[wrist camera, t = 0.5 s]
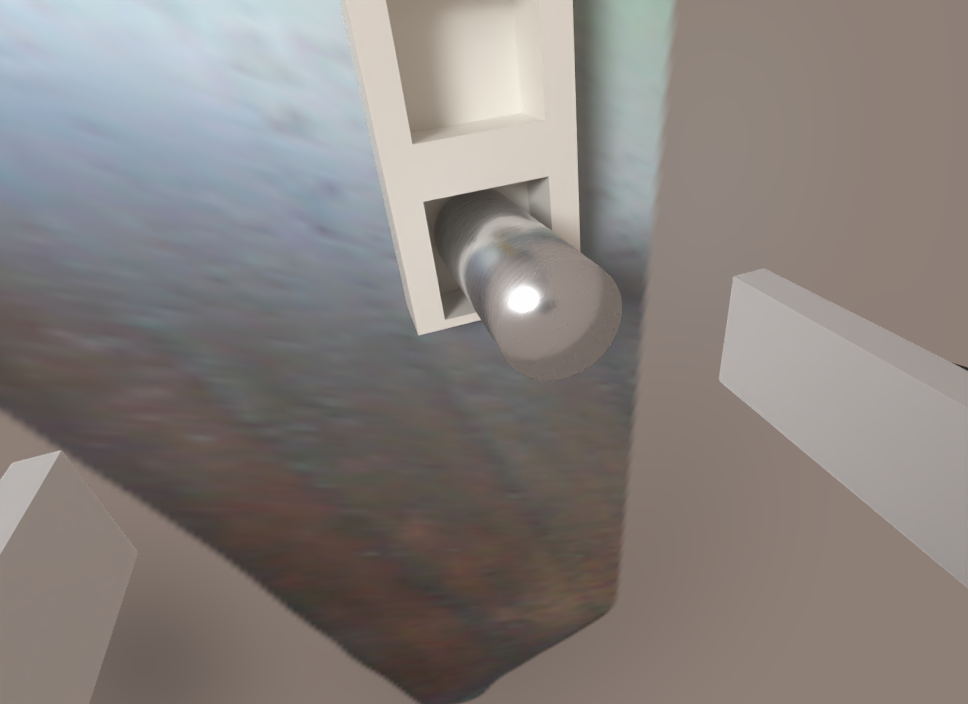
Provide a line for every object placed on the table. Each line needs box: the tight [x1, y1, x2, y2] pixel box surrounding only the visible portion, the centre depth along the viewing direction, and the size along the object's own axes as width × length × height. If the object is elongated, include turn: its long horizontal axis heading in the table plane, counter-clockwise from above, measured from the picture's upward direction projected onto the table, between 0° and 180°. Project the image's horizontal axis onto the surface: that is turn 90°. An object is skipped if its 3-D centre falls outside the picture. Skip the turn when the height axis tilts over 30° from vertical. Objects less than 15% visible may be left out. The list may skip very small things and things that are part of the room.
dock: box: [339, 0, 580, 335], centre depth 31 cm, size 19×11×4 cm, turn 7°
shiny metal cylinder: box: [434, 188, 622, 381], centre depth 29 cm, size 6×6×14 cm
